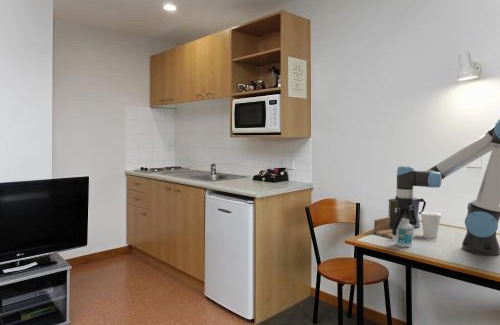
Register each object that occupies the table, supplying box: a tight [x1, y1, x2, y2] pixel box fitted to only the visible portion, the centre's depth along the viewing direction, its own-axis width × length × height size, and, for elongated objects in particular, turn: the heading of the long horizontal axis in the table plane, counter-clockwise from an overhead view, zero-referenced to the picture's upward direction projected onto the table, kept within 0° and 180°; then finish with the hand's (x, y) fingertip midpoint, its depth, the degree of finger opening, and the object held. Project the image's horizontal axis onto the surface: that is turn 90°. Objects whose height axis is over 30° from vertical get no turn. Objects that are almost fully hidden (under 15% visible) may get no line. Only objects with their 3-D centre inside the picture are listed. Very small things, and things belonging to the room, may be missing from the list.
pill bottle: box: [395, 218, 413, 248], centre depth 170 cm, size 8×7×14 cm
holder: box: [373, 216, 392, 240], centre depth 188 cm, size 17×12×8 cm
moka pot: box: [412, 196, 427, 229], centre depth 207 cm, size 10×15×20 cm, turn 40°
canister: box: [388, 195, 407, 229], centre depth 202 cm, size 11×10×20 cm
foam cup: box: [420, 211, 442, 239], centre depth 185 cm, size 10×9×13 cm
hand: (403, 239), depth 170 cm, fingers open, 12 cm apart
